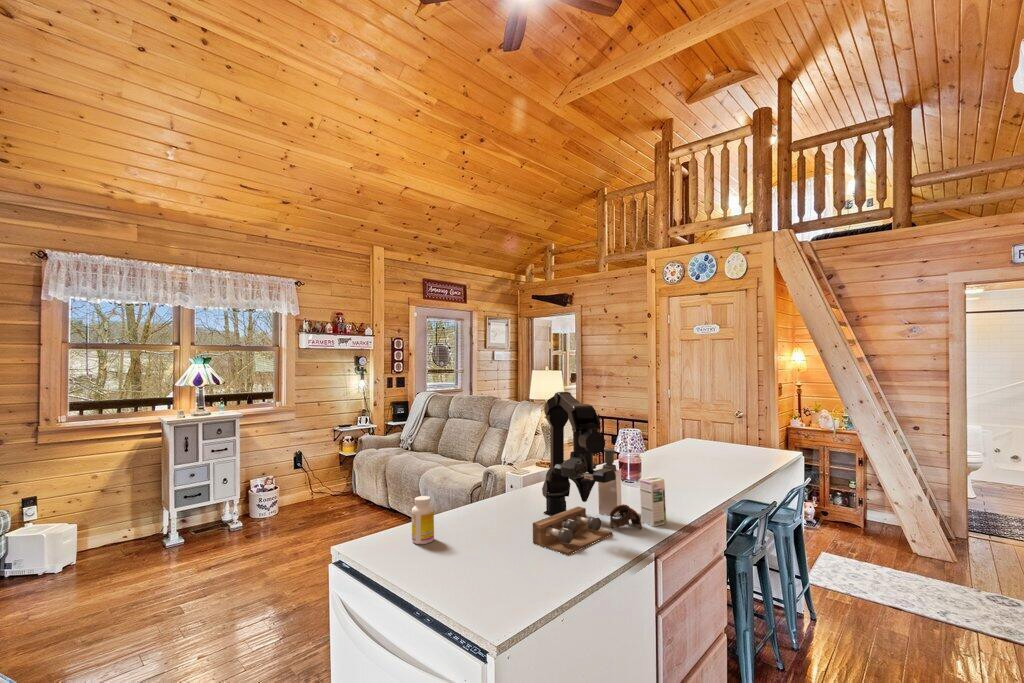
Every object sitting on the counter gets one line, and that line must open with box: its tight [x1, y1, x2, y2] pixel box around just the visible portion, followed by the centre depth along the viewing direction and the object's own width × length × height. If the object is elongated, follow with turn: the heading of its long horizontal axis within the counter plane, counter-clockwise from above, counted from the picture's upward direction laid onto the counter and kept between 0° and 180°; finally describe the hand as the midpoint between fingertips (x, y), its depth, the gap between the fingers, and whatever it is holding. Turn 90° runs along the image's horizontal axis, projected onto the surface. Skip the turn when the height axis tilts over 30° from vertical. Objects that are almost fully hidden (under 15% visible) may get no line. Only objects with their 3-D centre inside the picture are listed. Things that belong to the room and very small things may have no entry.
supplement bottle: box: [411, 495, 435, 545], centre depth 144 cm, size 7×7×13 cm
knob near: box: [546, 527, 573, 544], centre depth 138 cm, size 8×4×4 cm, turn 45°
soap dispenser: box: [597, 448, 623, 517], centre depth 169 cm, size 6×9×22 cm
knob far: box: [575, 515, 602, 531], centre depth 148 cm, size 8×4×4 cm, turn 45°
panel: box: [532, 506, 613, 556], centre depth 143 cm, size 13×22×6 cm, turn 135°
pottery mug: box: [609, 504, 643, 530], centre depth 153 cm, size 12×10×8 cm
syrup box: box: [639, 476, 667, 528], centre depth 156 cm, size 6×6×14 cm
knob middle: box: [561, 519, 578, 534], centre depth 146 cm, size 8×4×4 cm, turn 45°
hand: (584, 501), depth 139 cm, fingers closed
